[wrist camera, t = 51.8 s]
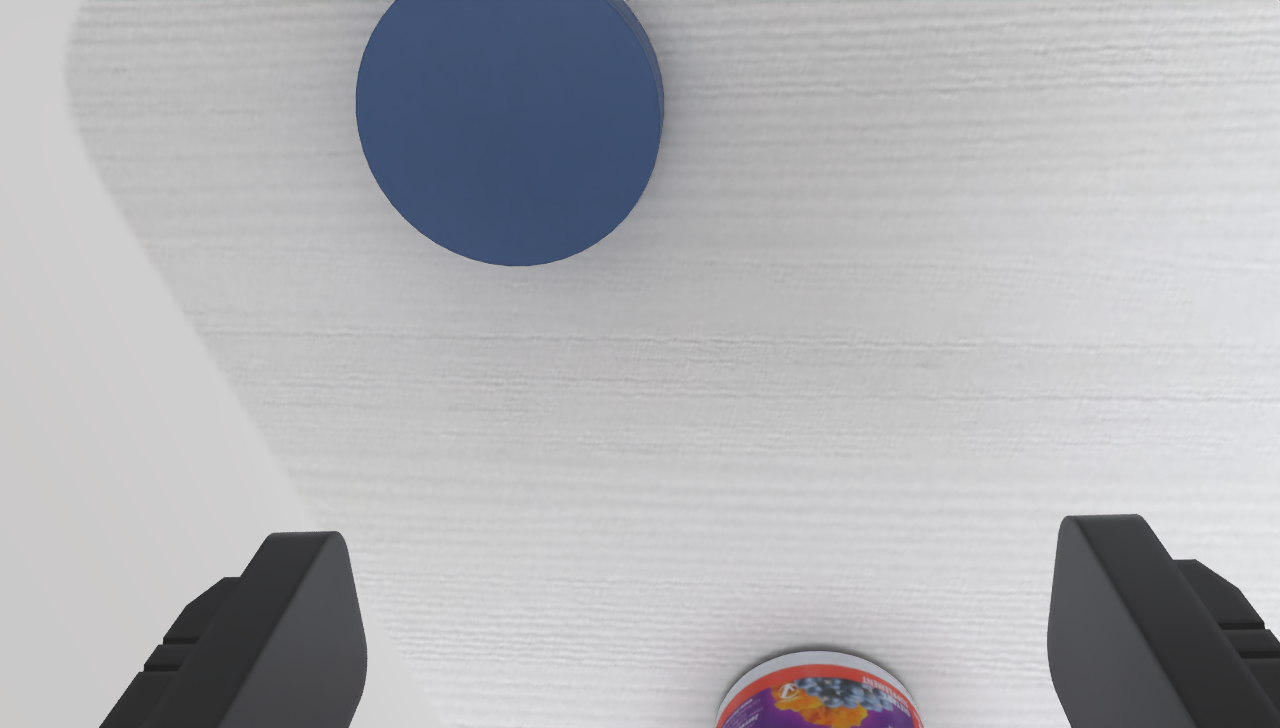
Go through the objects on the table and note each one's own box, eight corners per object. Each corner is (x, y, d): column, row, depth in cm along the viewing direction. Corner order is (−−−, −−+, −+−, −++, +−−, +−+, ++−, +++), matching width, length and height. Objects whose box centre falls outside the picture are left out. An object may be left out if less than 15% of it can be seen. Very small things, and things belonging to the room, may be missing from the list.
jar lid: (495, 292, 24) (479, 321, 22) (318, 69, 22) (288, 82, 20) (719, 141, 22) (720, 161, 20) (549, -114, 20) (535, -113, 19)
